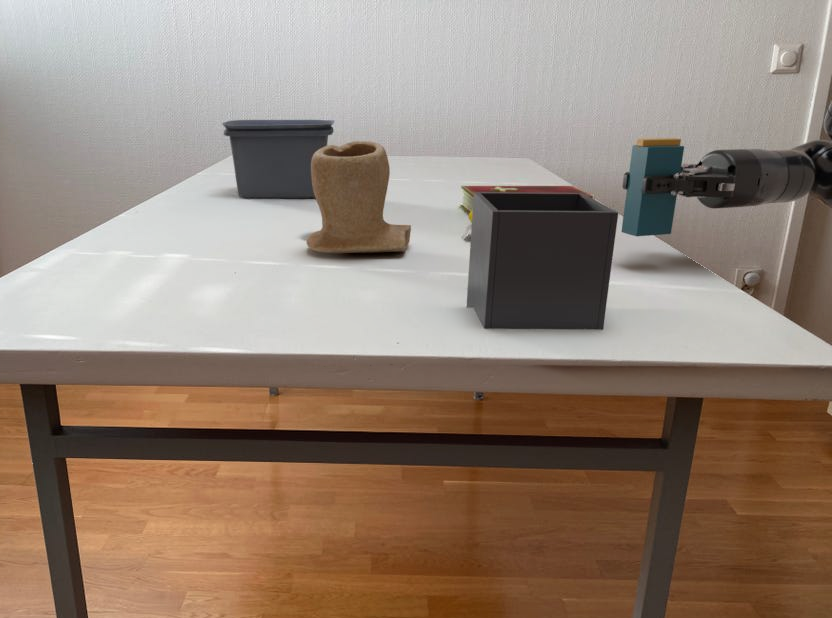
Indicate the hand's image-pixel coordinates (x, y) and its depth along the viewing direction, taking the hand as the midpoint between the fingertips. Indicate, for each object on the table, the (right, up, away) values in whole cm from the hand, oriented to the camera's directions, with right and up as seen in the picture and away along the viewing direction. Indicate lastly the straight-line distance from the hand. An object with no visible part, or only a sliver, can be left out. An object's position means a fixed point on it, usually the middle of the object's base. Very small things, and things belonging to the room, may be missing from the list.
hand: (634, 183), depth 98 cm
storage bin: (-50, +11, +59) cm, 78 cm away
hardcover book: (-5, +4, +42) cm, 43 cm away
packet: (+3, -6, +3) cm, 7 cm away
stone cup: (-34, -7, +11) cm, 37 cm away
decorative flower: (-13, -3, +24) cm, 27 cm away
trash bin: (-18, -19, -19) cm, 32 cm away
